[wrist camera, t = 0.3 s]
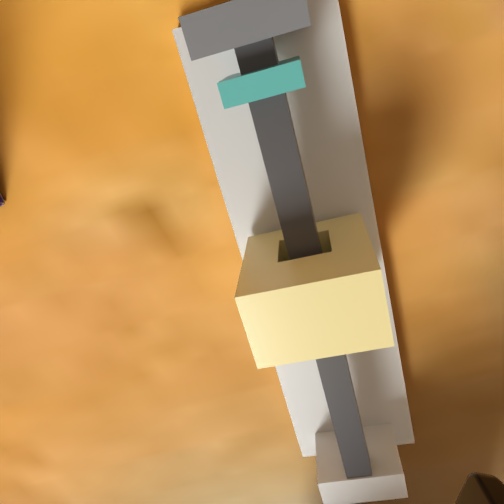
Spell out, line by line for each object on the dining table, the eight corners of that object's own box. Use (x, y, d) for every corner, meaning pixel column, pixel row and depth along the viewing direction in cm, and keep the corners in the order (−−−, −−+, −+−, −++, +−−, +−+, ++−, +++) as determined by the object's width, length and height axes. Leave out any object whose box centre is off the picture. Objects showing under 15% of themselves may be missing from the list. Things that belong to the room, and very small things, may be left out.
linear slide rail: (411, 431, 26) (435, 513, 21) (302, 445, 27) (304, 526, 22) (332, -19, 17) (346, -36, 13) (176, 29, 18) (139, 29, 14)
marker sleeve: (372, 275, 21) (394, 346, 16) (265, 296, 21) (257, 368, 17) (360, 212, 19) (381, 269, 15) (248, 236, 20) (234, 297, 16)
